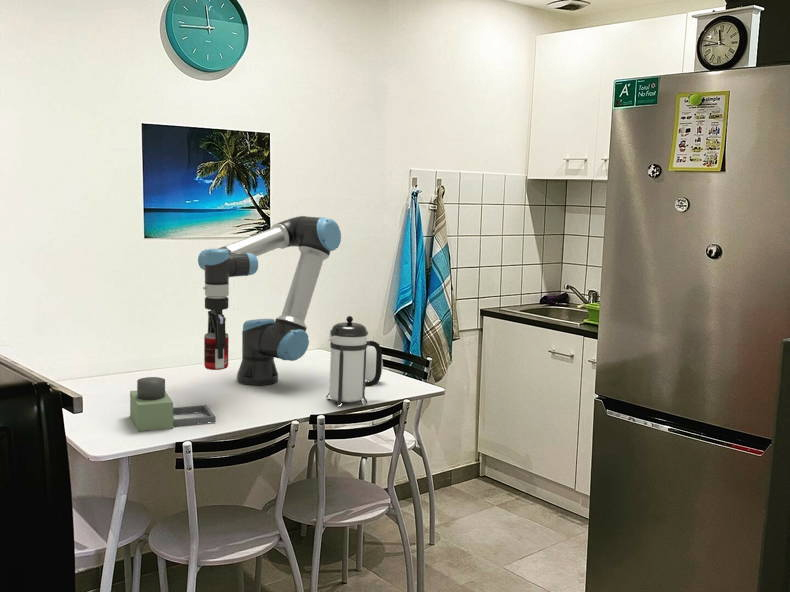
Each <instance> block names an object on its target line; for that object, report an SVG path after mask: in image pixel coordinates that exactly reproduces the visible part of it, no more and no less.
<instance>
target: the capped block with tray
mask: <svg viewBox="0 0 790 592" xmlns="http://www.w3.org/2000/svg"><path fill="white" fill-rule="evenodd" d="M136 381H137V384H136V390H130V391H129V393H130V394H129V402H130V403H129V405H130V406H129V411H130V412H129V413H130V414H129V415H130V419H131V418H132V419H131V421H132V423H133V425H134V426H135V429H136V432H138V431H141V432H146V431H145V430H151V431H156V430H155V429H162V430H165V429H164V428H172V429H174V427H173V426H176V427H183V426H182V425H187V426H191V425H190V424H197V425H201V424H200V423H208V422H217V421H216V415H215V414H214V413H213V412H212V410H211V409H210V408H209V406H207V404H202V405H201V404H200V405H190V406H189V405H188V406H179V407H178V406H177V407H174V402H173V400H172V399H171V397H170V396H169V394H168V393H167V391H166V379H165V378H163V377H158V376H149V377H141V378H138V379H137V380H136ZM194 412H199V413H204V415H205V414H206V415H207V416H206V415H205V416H194V417H186V418H185V417H184V418H175V417H174V415H173V414H176V415H186V414H185V413H187V414H195V413H194ZM183 413H184V414H183ZM198 423H199V424H198ZM208 424H209V423H208ZM153 429H154V430H153Z"/></svg>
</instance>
